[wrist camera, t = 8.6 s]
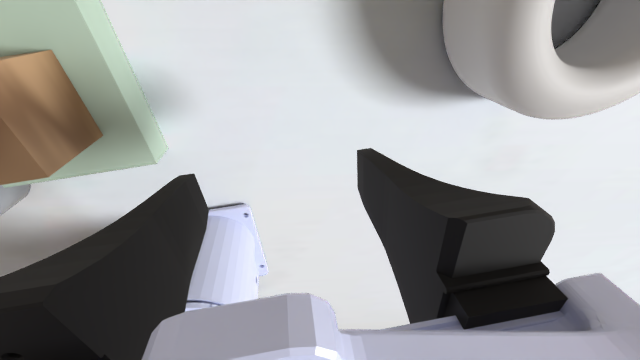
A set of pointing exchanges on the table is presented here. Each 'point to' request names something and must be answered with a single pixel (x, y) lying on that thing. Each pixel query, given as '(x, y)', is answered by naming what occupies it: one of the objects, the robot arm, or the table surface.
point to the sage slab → (88, 80)
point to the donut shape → (544, 55)
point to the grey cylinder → (12, 196)
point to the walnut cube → (40, 118)
